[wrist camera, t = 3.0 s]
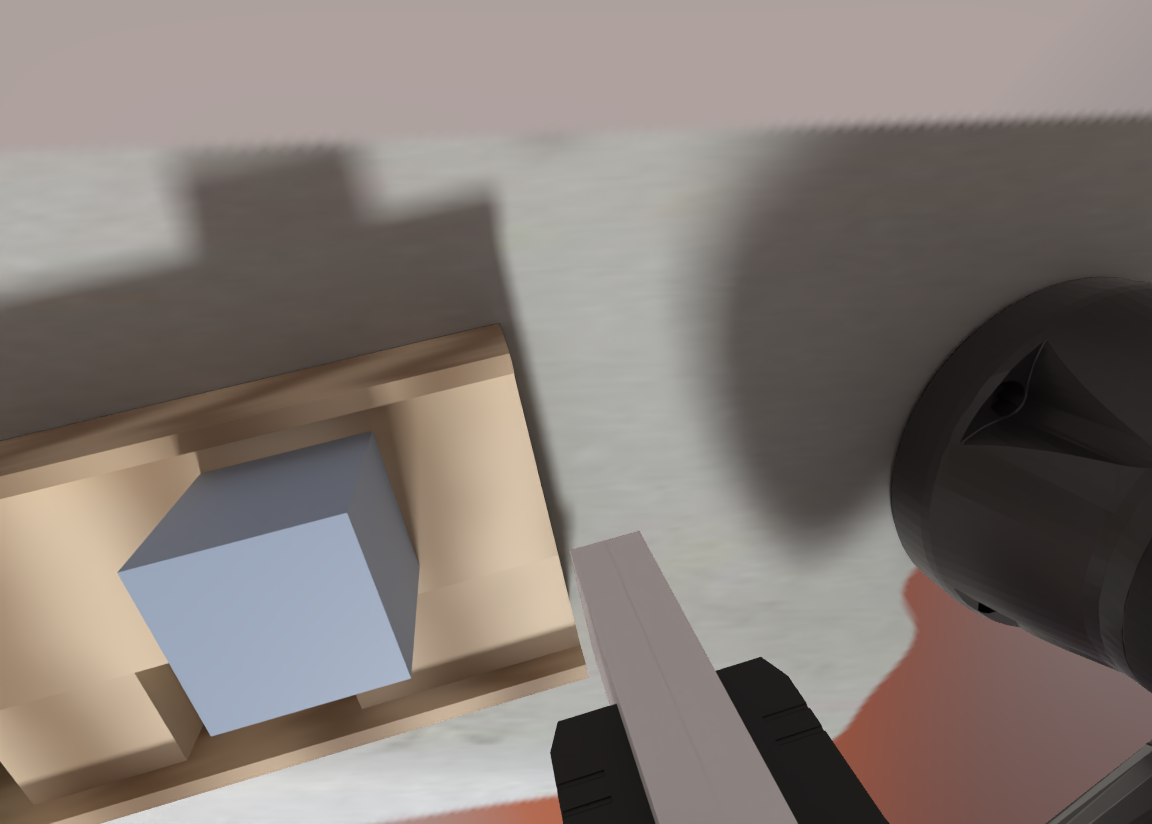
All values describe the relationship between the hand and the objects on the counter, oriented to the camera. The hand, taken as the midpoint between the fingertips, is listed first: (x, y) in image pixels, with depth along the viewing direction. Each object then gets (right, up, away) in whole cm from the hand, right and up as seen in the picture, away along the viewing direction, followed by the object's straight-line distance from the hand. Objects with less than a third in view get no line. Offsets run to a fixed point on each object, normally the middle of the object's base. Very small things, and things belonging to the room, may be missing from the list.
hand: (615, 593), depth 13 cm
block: (-9, 0, +6) cm, 11 cm away
